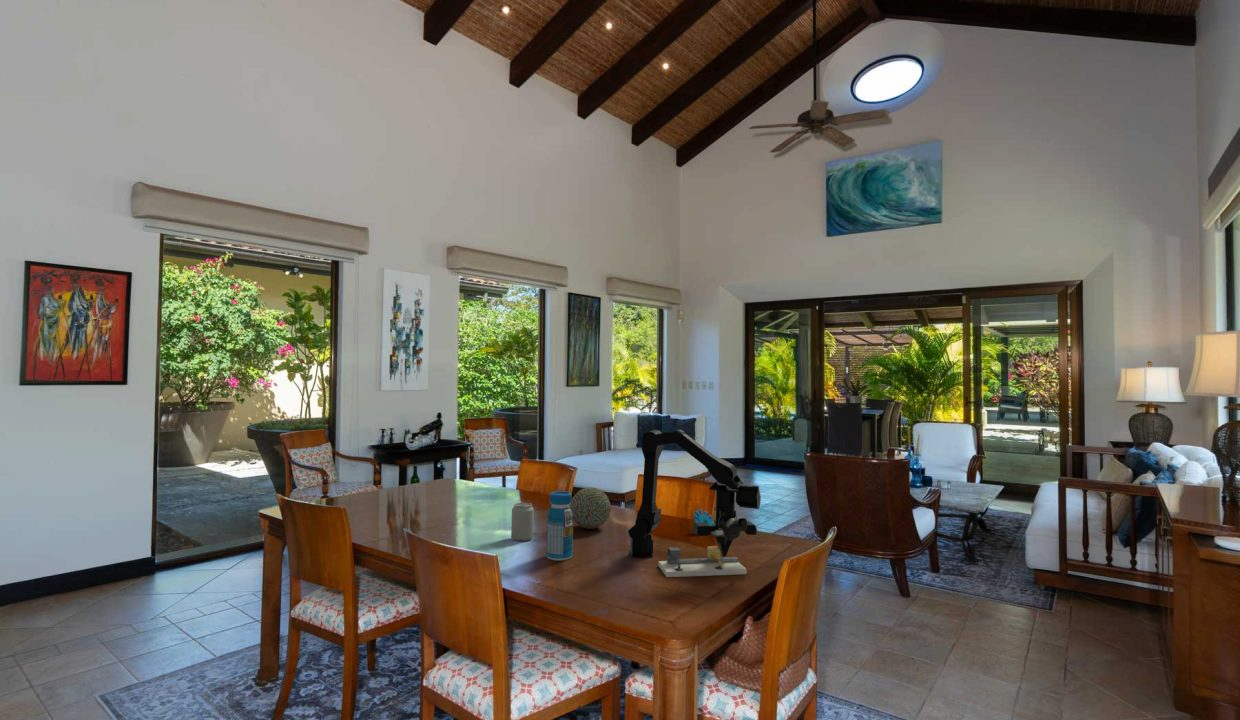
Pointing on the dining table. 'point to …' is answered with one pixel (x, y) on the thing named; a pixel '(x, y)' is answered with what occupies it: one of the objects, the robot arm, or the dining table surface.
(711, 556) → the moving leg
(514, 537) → the can
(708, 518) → the gear
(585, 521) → the decorative sphere
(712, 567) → the plate
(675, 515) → the dining table surface
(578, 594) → the dining table surface
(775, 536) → the dining table surface
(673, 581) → the dining table surface
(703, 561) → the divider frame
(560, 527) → the beverage bottle
